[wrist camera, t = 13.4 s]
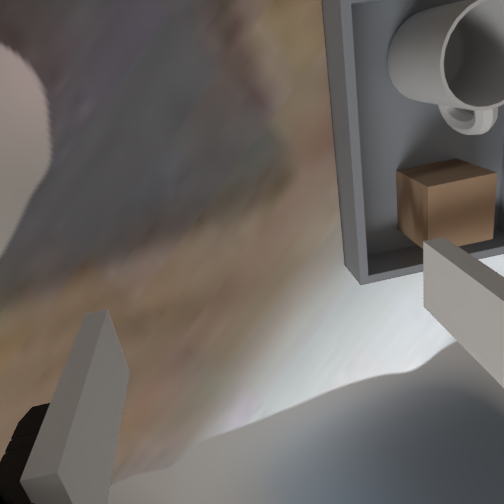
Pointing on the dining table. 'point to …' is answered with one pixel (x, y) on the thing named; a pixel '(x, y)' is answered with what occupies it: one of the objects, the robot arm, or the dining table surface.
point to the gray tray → (390, 139)
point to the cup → (453, 61)
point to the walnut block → (446, 202)
